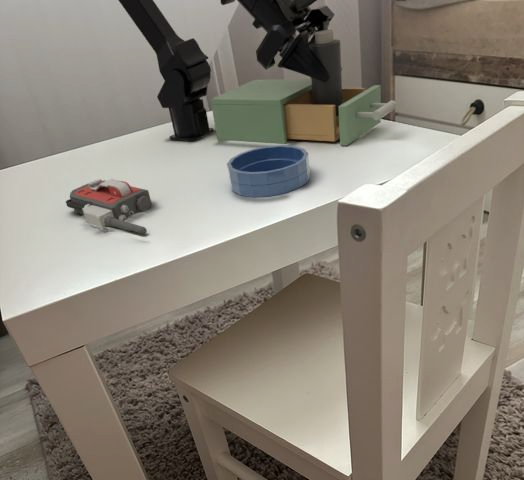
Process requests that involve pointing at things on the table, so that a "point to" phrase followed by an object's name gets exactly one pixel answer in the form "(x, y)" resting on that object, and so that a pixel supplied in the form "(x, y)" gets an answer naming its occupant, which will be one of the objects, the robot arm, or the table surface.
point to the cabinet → (256, 110)
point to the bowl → (269, 170)
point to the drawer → (331, 126)
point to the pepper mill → (331, 60)
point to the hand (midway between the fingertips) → (334, 75)
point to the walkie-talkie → (110, 203)
